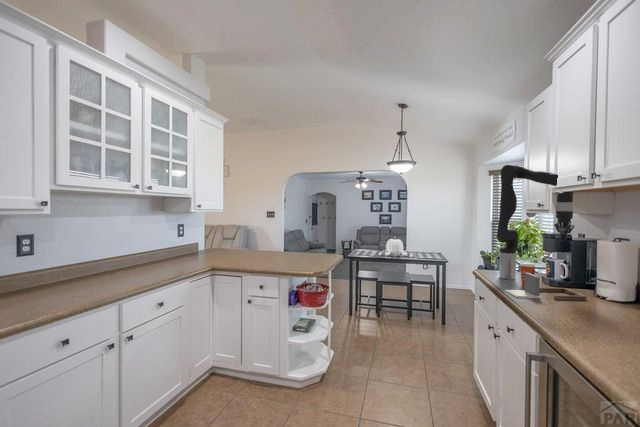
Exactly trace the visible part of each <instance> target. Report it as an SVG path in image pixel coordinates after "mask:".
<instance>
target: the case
mask: <svg viewBox="0 0 640 427" xmlns="http://www.w3.org/2000/svg"><path fill="white" fill-rule="evenodd" d="M540 292H543V293H545V292H547V293H549V292H550V293H565V294H567V295H562V294H561V295H557V294H556V295H555V294H554V295H553V300H556V301H557V300H558V301H587V296H586V295H584V294H581V293H578V292H577V291H576V292H575V291H573V290H570V289H569V288H565V287H540Z"/></svg>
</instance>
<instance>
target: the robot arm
mask: <svg viewBox="0 0 640 427" xmlns="http://www.w3.org/2000/svg"><path fill="white" fill-rule="evenodd" d="M557 174H558V173H554V172H550V171H543V170H535V169H534V170H533V169H529V168H526V167H522V166H520V165H517V164H505V165H503V166H502V168H501V169H500V185H501V186H500V202H499V203H500V204H499V215H498V216H499V218H498V224H497V231H496V238H497V240H498V242H500V243H505V244H504V245H503V246H501V247H500V248H499V264H498V265H499V268H498V269H499V273H498V274H499V278H500V279H504V280H514V281H515V280H517V279H516V276H517V275H516V274H517V272H516V271H517V269H516V268H517V259H516V258H517V250H518V240H519V233H518V231H517V230H516V229H515V228H509V223H510V220H511V218H512V217H513V215H514V214H515V212H516V211H517V204H518V202H517V201H518V200H517V199H518V198H517V195H516V192H515V190H514V179H519V180H520V179H521V180H522V179H523V180H529V181H532V182H535V183H539V184H544V185H550V186H554V187H557V186H556V185H557V178H558V175H557ZM574 193H575V191H574V192H560V191H559V192H558V193H557V195H556V206H555V208H556V209H555V218H556V219H557V220H556V221H557V222H556V223H554V227H555V229H556V232H557V233H559V234H560V241H561V242H564V241H565V242H566V241H567V239H568V238H567V237H568V234H571V233H572V231H573V229H574V228H575V225H574V224H572V219H573V218H574V203H573V202H574Z"/></svg>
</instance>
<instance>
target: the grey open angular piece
mask: <svg viewBox="0 0 640 427" xmlns="http://www.w3.org/2000/svg"><path fill="white" fill-rule="evenodd" d="M540 280H541V278H540V276H538V275H535V274H534V275H533V274H530V273H525V281H524V287H523V288H524V289H504V292H505V293H506V292H507V294H508V293H509V295H510V294H511V295H510V296H512V295H513V296H512V297H514V296H515V297H514V298H516V297H518V298H517V299H541V298H542V296H541V295H540V288H541V287H540V284H541V281H540Z"/></svg>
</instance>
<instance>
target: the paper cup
mask: <svg viewBox="0 0 640 427" xmlns="http://www.w3.org/2000/svg"><path fill="white" fill-rule="evenodd" d="M519 265H520V278H521V287H523V288H524V281H525V273H530V274H533V275H535V270H536V269H535V268H536V265H535V263H534V262H525V261H524V262H520V264H519Z"/></svg>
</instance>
